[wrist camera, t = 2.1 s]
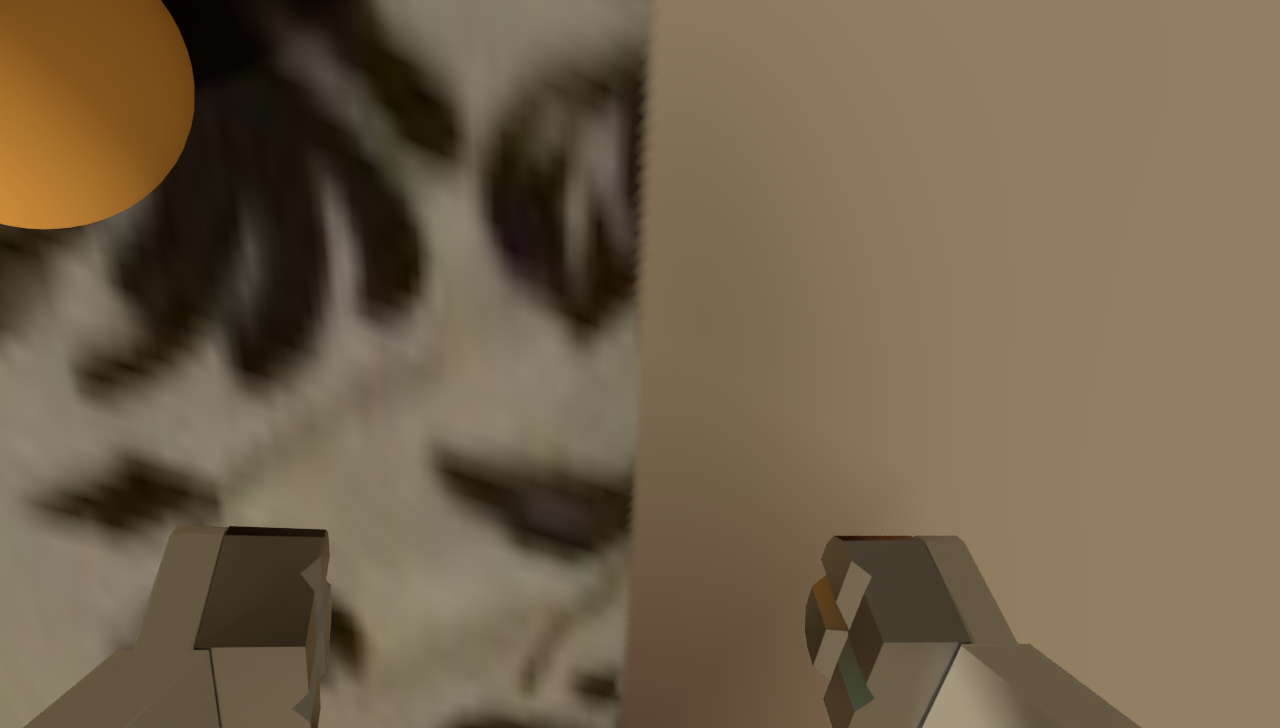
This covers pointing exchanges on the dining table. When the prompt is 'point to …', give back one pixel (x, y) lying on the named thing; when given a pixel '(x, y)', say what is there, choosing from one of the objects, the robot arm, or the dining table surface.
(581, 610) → the dining table surface
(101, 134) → the ball
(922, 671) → the robot arm
